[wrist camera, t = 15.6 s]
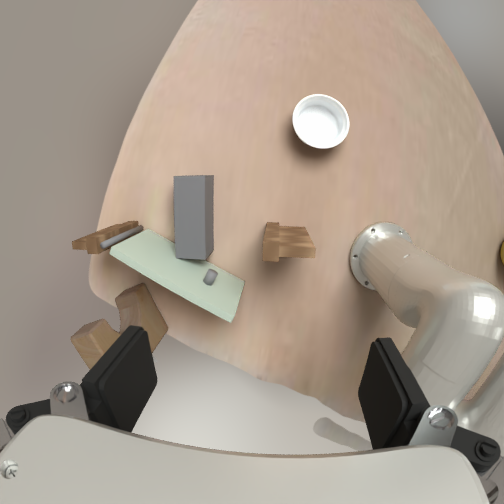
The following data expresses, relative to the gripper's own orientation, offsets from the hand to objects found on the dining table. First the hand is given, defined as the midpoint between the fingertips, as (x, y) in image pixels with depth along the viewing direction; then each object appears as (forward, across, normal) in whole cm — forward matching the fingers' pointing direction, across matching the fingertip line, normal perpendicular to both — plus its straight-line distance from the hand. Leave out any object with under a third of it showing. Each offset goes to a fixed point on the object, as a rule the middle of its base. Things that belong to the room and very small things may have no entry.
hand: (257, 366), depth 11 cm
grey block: (+38, +13, -1) cm, 41 cm away
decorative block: (+38, +25, +19) cm, 50 cm away
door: (+38, +14, +6) cm, 41 cm away
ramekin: (+39, -7, -16) cm, 42 cm away
